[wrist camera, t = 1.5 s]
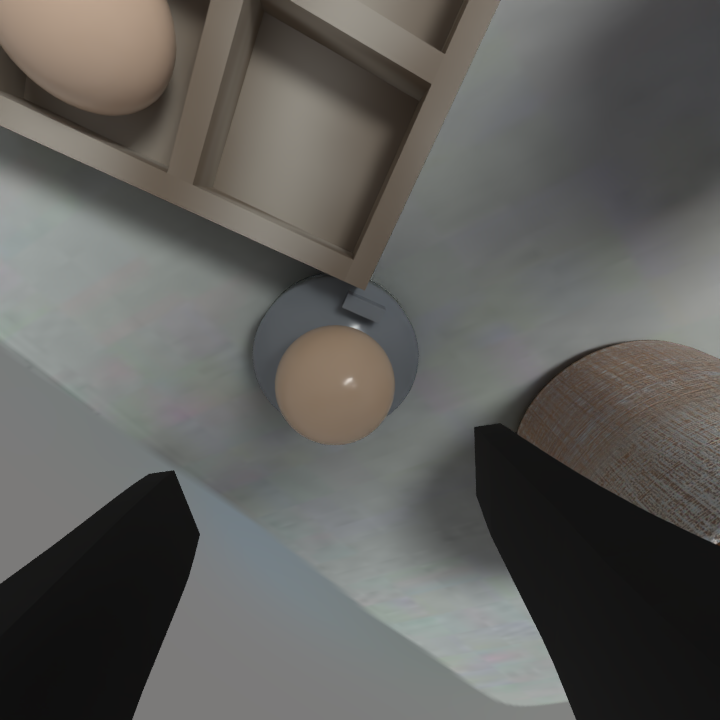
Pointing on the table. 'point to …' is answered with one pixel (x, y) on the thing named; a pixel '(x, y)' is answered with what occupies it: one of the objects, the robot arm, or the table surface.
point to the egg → (93, 50)
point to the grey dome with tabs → (335, 307)
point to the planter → (639, 428)
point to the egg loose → (334, 385)
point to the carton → (281, 118)
